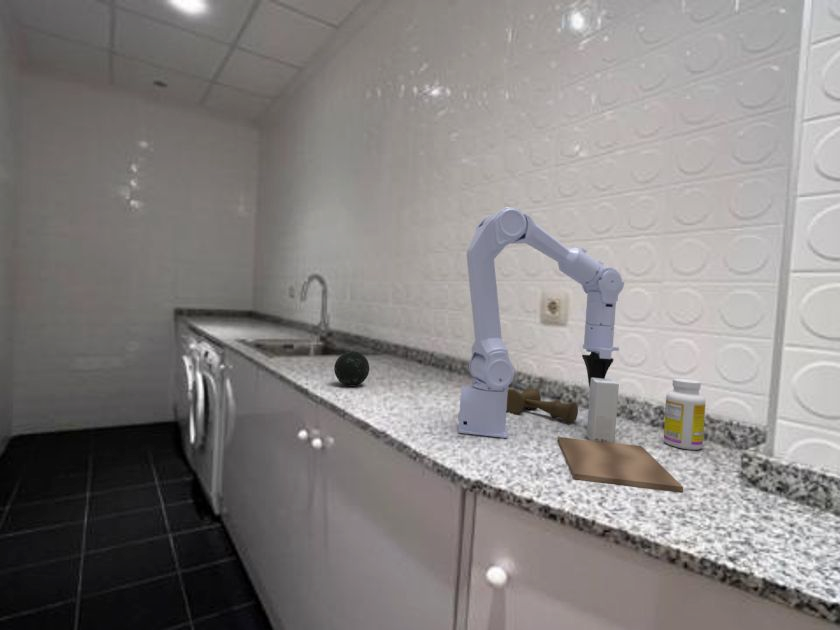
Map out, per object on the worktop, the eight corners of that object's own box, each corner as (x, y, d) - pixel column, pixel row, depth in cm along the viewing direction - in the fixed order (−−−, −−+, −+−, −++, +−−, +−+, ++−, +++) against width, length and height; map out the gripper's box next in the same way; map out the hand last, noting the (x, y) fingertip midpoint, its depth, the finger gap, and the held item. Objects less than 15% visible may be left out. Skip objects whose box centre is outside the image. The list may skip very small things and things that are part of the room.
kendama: (563, 430, 95) (488, 408, 109) (582, 424, 102) (509, 404, 116) (566, 402, 95) (490, 384, 109) (585, 398, 101) (512, 381, 115)
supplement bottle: (699, 444, 88) (704, 380, 87) (705, 453, 82) (710, 385, 81) (661, 437, 91) (666, 376, 90) (664, 446, 85) (669, 380, 84)
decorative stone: (327, 386, 123) (329, 351, 123) (342, 381, 133) (344, 348, 133) (360, 390, 121) (362, 354, 120) (373, 384, 130) (375, 351, 130)
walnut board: (573, 478, 66) (574, 473, 66) (557, 441, 84) (557, 436, 84) (682, 492, 63) (683, 486, 63) (640, 450, 82) (641, 445, 82)
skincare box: (615, 446, 83) (619, 383, 82) (591, 444, 84) (595, 381, 83) (608, 437, 89) (612, 378, 88) (585, 435, 90) (589, 376, 89)
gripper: (629, 328, 85) (624, 397, 85) (611, 325, 99) (606, 384, 99) (591, 325, 86) (586, 394, 86) (578, 323, 100) (574, 381, 101)
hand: (595, 389), depth 93 cm, fingers closed
